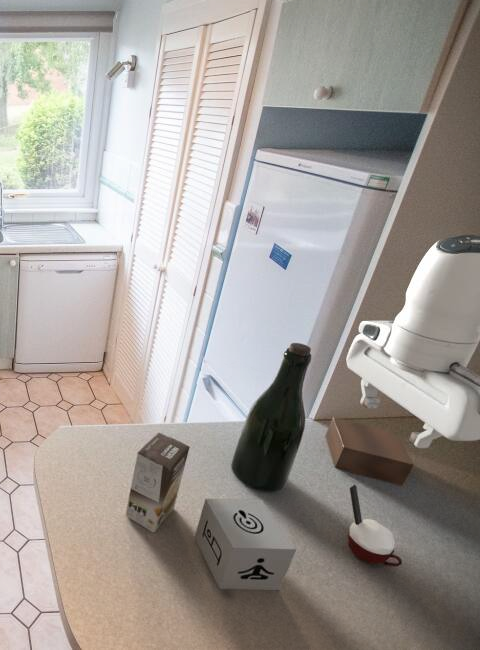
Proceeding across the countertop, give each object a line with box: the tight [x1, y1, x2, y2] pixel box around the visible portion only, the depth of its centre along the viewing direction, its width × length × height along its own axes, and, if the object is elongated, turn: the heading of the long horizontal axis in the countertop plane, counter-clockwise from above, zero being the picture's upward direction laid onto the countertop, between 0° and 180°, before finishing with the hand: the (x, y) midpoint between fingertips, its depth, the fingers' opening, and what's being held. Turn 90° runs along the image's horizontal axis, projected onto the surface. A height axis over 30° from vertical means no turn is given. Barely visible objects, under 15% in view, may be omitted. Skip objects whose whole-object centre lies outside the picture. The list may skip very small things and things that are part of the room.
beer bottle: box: [230, 342, 312, 493], centre depth 94 cm, size 10×10×33 cm
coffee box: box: [124, 432, 191, 533], centre depth 88 cm, size 9×6×16 cm
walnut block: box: [324, 416, 414, 487], centre depth 104 cm, size 12×12×6 cm
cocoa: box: [347, 484, 403, 567], centre depth 81 cm, size 10×6×12 cm, turn 5°
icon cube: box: [194, 498, 297, 591], centre depth 79 cm, size 10×10×10 cm
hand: (391, 424), depth 71 cm, fingers open, 8 cm apart
